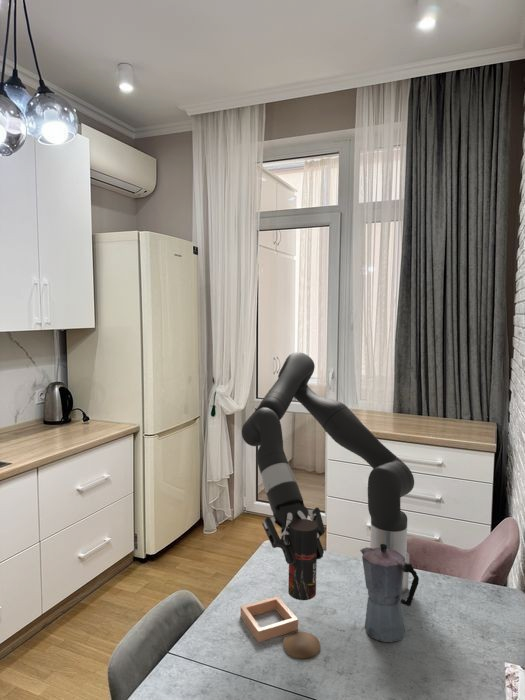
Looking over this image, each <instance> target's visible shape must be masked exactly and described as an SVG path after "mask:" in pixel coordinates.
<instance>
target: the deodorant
mask: <svg viewBox="0 0 525 700" xmlns="http://www.w3.org/2000/svg"><path fill="white" fill-rule="evenodd" d="M289 538H290V540H289V545H291V547H292V549H293V552H294V555H295V558H296V564H295V565H294V566H290V564H288V595H289V596H290V597H291V598H293V599H295V600H298V601H310V600H312V599H314V598H315V597H316V594H317V562H318V559H317V524H316V523H315V522H314V521H312V520H311V519H308V518H307V519H297V520H293V521H291V522H290V531H289Z"/></svg>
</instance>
